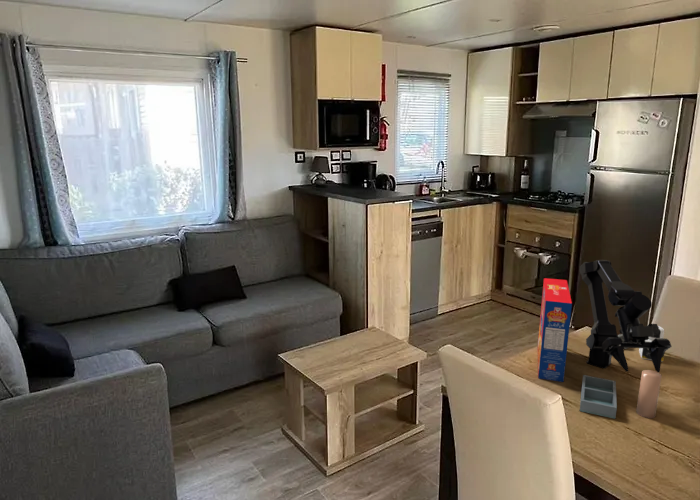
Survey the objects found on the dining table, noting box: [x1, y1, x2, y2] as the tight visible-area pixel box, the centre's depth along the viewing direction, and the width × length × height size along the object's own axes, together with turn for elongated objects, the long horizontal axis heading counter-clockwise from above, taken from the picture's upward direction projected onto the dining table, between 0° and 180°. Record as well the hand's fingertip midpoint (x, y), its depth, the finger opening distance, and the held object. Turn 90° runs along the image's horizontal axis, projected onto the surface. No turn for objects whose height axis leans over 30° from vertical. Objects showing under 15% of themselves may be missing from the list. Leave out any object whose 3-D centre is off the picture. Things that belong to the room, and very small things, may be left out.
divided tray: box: [579, 374, 618, 420], centre depth 159 cm, size 18×10×4 cm, turn 154°
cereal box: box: [537, 277, 573, 383], centre depth 182 cm, size 28×8×28 cm, turn 161°
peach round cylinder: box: [635, 369, 662, 419], centre depth 150 cm, size 5×5×13 cm
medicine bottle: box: [638, 324, 666, 363], centre depth 189 cm, size 7×7×12 cm
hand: (642, 371), depth 154 cm, fingers open, 9 cm apart
